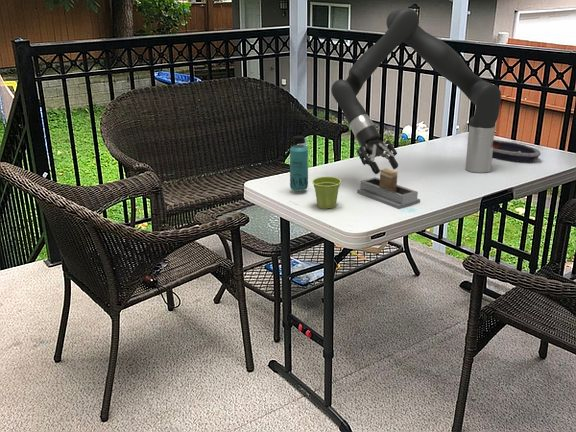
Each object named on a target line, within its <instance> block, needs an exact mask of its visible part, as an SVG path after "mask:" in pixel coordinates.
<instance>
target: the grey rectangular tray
mask: <svg viewBox="0 0 576 432" xmlns="http://www.w3.org/2000/svg"><path fill="white" fill-rule="evenodd" d="M356 193H357V194H359V195H362V196H365V197H367V198H370V199H372V200H375V201H378V202H380V203H382V204H385V205H386V206H387V205H388V206H389V207H393V208H395V209H398V210H400V209H404V208H405V207H409V206H412V205H415V204H418V203H419V204H420V203H421V199H420V198H418V191H417V190H414V189H411V188H408V187H405V186H402V185H399V184H397V191H396V192H394V191H391V190H388V189H386V188H383V187H380V177H379V178H378V177H376V176H374V177H371V178H367V179H363V180H360V189H357V190H356Z"/></svg>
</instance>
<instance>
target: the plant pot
mask: <svg viewBox="0 0 576 432" xmlns="http://www.w3.org/2000/svg"><path fill="white" fill-rule="evenodd" d="M311 182H312V184H313V187H314V192H315V199H316V204H317V207H318V208H320V209H324V210H327V209H334V208H336V206H337V202H338V201H337V200H338V195H339V188H340V185H341V183H342V179H340V178H338V177H336V176H335V177H334V176H320V177H316V178H313V179H312V181H311Z"/></svg>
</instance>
